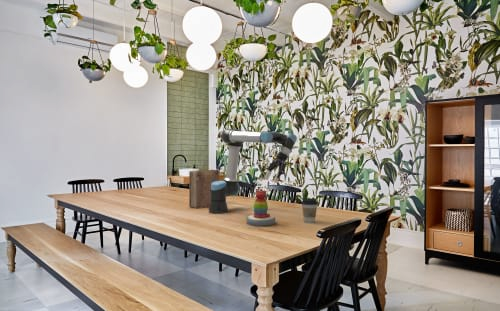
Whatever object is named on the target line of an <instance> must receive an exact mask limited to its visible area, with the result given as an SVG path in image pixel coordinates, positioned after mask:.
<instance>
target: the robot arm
mask: <svg viewBox="0 0 500 311" xmlns="http://www.w3.org/2000/svg"><path fill="white" fill-rule="evenodd" d="M220 137H221V140H222V141H223V142H224V143H225V144H226V145H227V147H228V152H227V153H228V155H227V160H226V163H227V164H226V171H225V177H223V180H219V181H215V182H213V183H212V184H211V203H210V206H208V213H210V214H226V213H228V212H229V207H228V204H227V198H228V197H234V196H236V195H237V194H238V193H239V192H240V188H241V187H240V184H239V181H238V178H237V175H238V167H239V165H238V164H239V160H240V159H239V158H240V149H241V148H242V147H243V144H244V143H261V144H262V143H264V144H279V145H281V147H280V148H279V150H278V152H277V154H276V158H274V159H273V160H272V162H271V163H270V164H269V165H268V167H267V168H266V169H267V172H266V174H265V176H264V177H263V178H264V180H266V181H268V180H269V178H270V176H271V174H272V172H273V170H275V169H276V167H278V171H277V173H276V175H275V177H274V179H273V183H275V184H277V183H278V181H279V180H280V177H281V176H282V175H284V174H285V170H286V164H287V160H288V158H289V155H290V154H291V152H292V150H293V148H294V146H295V144H296V142H297V139H298V136H297V135H296V134H294V133H291V132H288V133H287V134H283V133H281V132H278V131H276V130H275V131H274V130H272V131H243V130H242V129H237V128H226V129H224V130H222V133H221V134H220Z"/></svg>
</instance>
